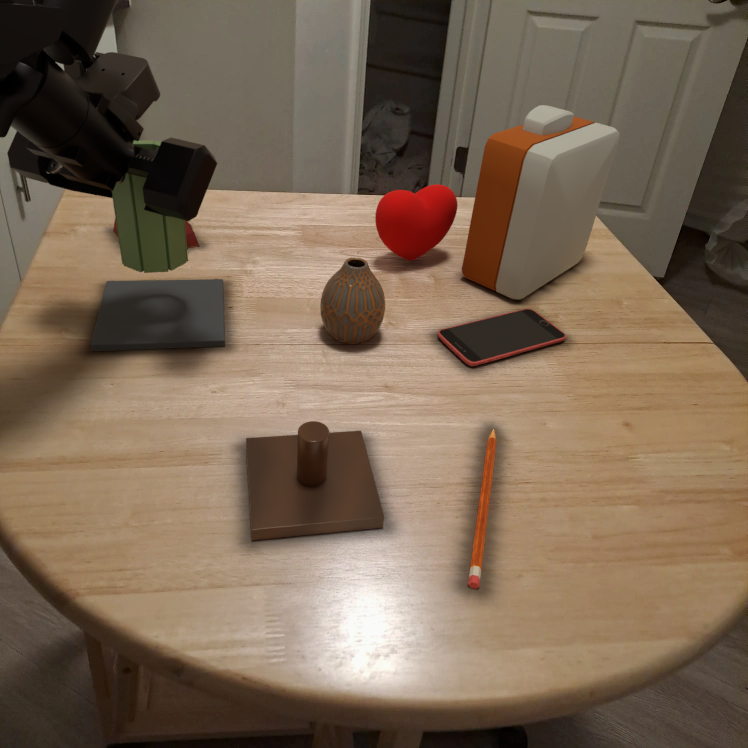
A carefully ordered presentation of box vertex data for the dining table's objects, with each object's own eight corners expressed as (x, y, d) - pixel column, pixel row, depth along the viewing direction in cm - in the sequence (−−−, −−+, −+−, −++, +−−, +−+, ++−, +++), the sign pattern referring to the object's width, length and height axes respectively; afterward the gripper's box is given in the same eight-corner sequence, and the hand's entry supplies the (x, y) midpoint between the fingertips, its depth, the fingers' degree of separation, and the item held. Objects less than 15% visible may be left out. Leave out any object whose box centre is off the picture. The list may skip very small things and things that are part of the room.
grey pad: (91, 351, 66) (90, 344, 65) (107, 286, 76) (106, 280, 75) (225, 346, 68) (224, 340, 68) (223, 284, 79) (222, 278, 78)
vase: (352, 311, 76) (357, 241, 71) (394, 337, 73) (403, 266, 67) (306, 330, 72) (308, 258, 67) (348, 359, 69) (354, 285, 63)
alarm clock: (529, 240, 97) (566, 92, 85) (583, 261, 92) (630, 109, 80) (457, 279, 85) (487, 114, 73) (515, 306, 81) (558, 135, 68)
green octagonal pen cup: (156, 278, 65) (144, 168, 58) (108, 259, 67) (91, 151, 60) (200, 255, 69) (193, 151, 63) (154, 238, 71) (142, 135, 65)
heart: (434, 245, 92) (445, 175, 86) (457, 262, 89) (470, 190, 83) (362, 259, 87) (368, 186, 81) (384, 278, 83) (392, 202, 77)
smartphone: (570, 336, 75) (471, 364, 69) (568, 341, 75) (470, 369, 69) (530, 306, 79) (434, 330, 73) (529, 310, 80) (433, 334, 74)
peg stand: (252, 540, 49) (250, 484, 45) (246, 448, 57) (244, 393, 53) (383, 527, 51) (391, 473, 48) (360, 440, 59) (365, 387, 55)
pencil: (467, 587, 48) (469, 581, 47) (488, 430, 62) (490, 424, 61) (478, 590, 47) (480, 584, 47) (497, 432, 62) (498, 426, 61)
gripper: (196, 42, 50) (269, 150, 65) (1, 5, 54) (111, 114, 69) (142, 175, 48) (229, 254, 63) (-54, 126, 53) (71, 210, 68)
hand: (158, 203), depth 66 cm, fingers closed on green octagonal pen cup, 6 cm apart
